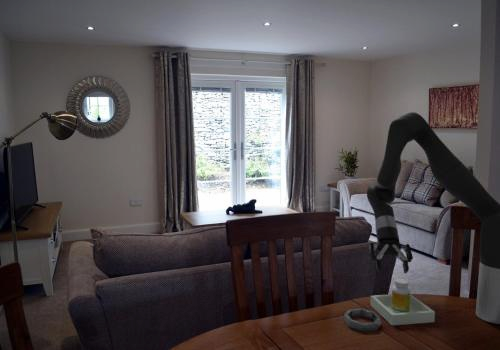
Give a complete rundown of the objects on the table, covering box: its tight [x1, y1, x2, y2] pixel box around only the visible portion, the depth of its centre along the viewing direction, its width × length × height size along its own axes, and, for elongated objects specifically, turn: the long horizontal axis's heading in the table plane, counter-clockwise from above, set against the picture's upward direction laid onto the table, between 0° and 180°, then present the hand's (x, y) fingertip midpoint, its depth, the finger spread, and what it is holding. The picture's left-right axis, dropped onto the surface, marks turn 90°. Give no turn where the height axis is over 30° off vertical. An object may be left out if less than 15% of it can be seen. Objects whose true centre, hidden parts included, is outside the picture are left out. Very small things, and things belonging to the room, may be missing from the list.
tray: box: [369, 293, 436, 326], centre depth 127 cm, size 14×14×3 cm
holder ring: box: [343, 308, 382, 332], centre depth 121 cm, size 10×10×2 cm
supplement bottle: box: [391, 278, 411, 313], centre depth 127 cm, size 5×5×10 cm
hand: (393, 271), depth 137 cm, fingers open, 8 cm apart
